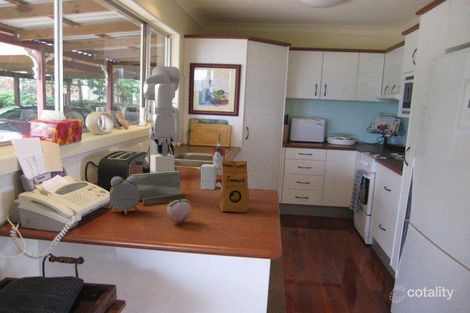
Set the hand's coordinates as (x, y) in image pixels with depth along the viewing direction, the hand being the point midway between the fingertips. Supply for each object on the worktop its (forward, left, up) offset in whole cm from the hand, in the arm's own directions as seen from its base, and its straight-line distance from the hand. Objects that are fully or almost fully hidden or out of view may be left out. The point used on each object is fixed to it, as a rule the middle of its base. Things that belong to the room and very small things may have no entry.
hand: (163, 153), depth 156 cm
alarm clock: (+8, -20, -23) cm, 31 cm away
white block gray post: (-1, 0, -8) cm, 8 cm away
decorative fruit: (+30, -7, -23) cm, 38 cm away
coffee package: (+27, +21, -23) cm, 41 cm away
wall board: (-3, 0, -23) cm, 23 cm away
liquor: (-25, +46, -23) cm, 57 cm away
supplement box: (-13, +32, -23) cm, 42 cm away
